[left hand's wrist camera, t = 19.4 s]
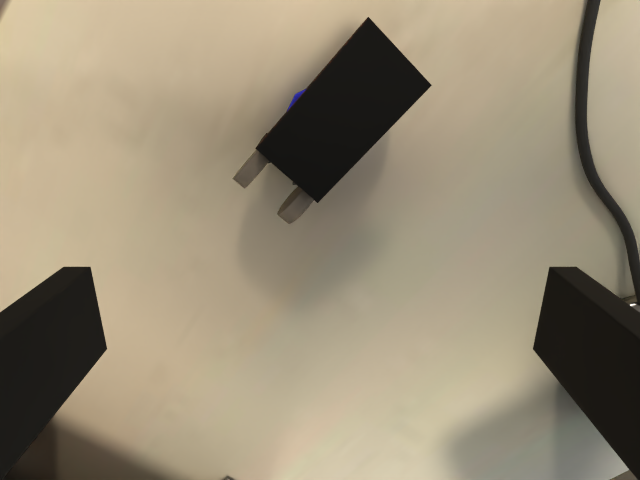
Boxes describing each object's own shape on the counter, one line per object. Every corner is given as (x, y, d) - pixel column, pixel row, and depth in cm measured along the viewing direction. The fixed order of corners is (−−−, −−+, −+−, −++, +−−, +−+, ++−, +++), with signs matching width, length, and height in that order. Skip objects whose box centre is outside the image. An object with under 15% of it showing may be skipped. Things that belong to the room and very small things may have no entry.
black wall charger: (301, 206, 40) (421, 77, 34) (289, 241, 33) (438, 87, 27) (243, 158, 38) (360, 15, 33) (219, 184, 31) (361, 9, 26)
